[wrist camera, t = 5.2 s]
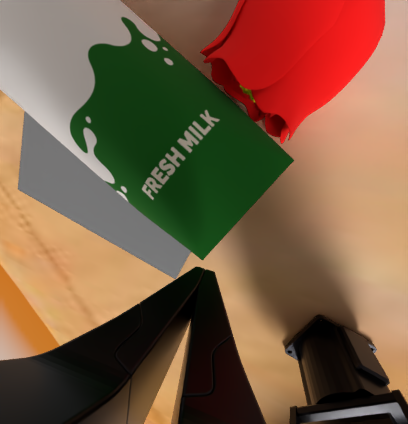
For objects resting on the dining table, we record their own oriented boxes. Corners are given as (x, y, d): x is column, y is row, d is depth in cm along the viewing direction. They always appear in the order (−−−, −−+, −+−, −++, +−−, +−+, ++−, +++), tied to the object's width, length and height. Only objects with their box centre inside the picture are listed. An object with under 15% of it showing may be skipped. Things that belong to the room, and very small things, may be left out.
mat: (176, 277, 24) (175, 279, 23) (21, 188, 25) (17, 189, 24) (245, 149, 17) (245, 150, 17) (35, 39, 19) (31, 37, 18)
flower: (447, 30, 9) (302, 162, 12) (334, 50, 16) (257, 133, 18) (390, -219, 6) (205, 50, 8) (275, -61, 12) (191, 62, 15)
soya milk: (189, 280, 10) (-123, 5, 10) (201, 240, 19) (41, 97, 19) (318, 140, 9) (-22, -164, 9) (266, 168, 18) (98, 19, 18)
